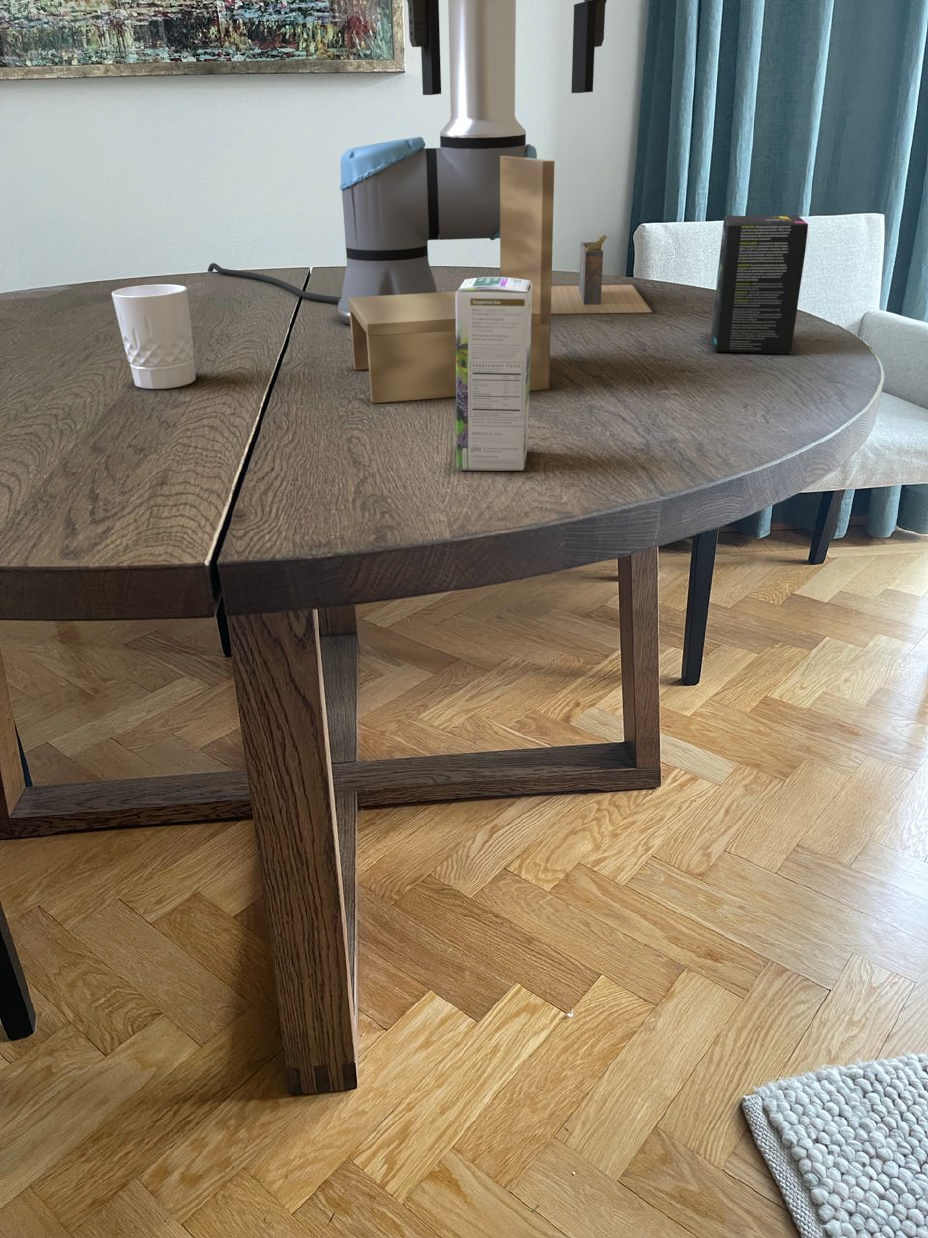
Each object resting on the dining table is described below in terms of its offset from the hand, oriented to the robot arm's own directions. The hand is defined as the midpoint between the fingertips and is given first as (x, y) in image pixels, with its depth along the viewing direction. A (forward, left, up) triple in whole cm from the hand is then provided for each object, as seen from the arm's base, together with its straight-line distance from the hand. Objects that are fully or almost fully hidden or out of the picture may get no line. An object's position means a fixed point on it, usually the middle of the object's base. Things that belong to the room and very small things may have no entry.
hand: (508, 93), depth 78 cm
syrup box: (+8, -12, -28) cm, 31 cm away
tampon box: (+6, +42, -28) cm, 51 cm away
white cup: (-39, -13, -28) cm, 50 cm away
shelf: (-14, +7, -28) cm, 32 cm away
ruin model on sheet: (-29, +59, -28) cm, 72 cm away
